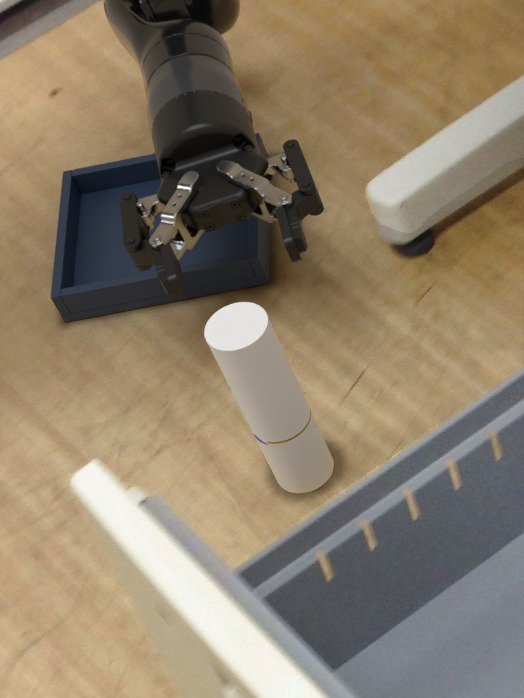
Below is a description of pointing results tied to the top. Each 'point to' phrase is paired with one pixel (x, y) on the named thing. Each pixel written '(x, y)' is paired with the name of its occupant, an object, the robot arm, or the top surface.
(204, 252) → the tray
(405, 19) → the top surface
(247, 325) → the tube
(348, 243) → the top surface
